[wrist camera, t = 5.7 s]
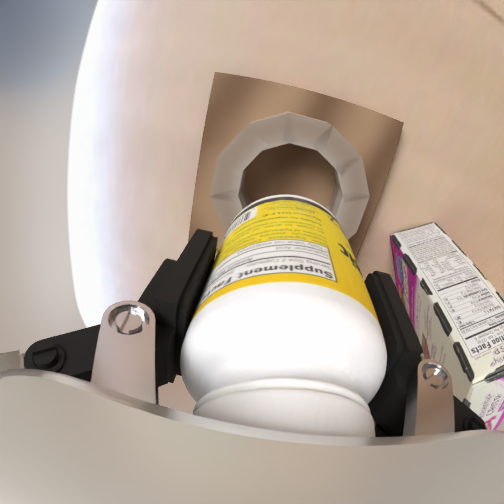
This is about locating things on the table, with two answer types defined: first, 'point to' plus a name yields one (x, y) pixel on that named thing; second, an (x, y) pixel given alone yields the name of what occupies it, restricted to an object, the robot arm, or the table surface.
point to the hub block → (289, 154)
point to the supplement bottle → (285, 326)
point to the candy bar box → (454, 316)
